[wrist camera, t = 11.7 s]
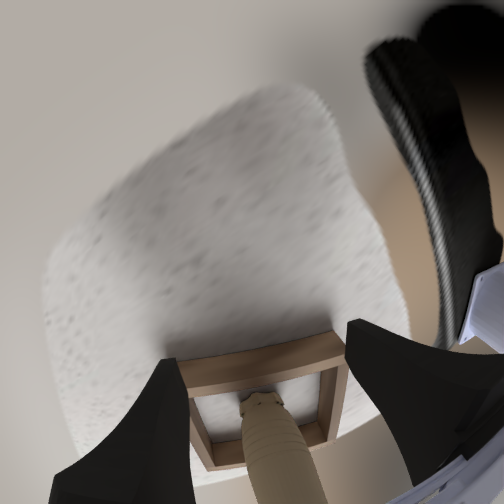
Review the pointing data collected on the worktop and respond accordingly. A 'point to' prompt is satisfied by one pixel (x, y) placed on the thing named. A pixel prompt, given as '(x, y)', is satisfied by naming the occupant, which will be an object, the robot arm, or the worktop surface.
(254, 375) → the collar
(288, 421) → the handle
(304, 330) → the worktop surface
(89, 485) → the robot arm
